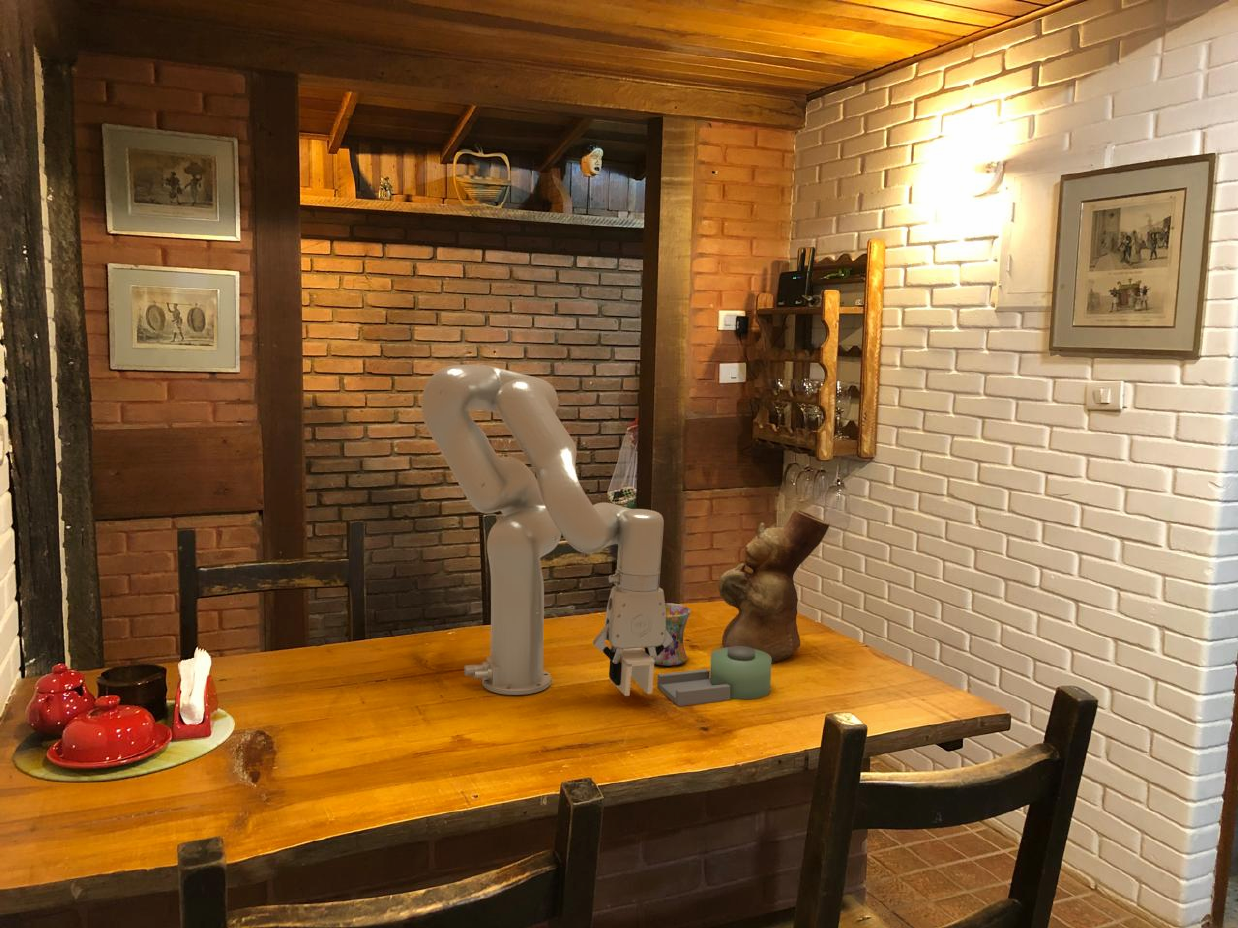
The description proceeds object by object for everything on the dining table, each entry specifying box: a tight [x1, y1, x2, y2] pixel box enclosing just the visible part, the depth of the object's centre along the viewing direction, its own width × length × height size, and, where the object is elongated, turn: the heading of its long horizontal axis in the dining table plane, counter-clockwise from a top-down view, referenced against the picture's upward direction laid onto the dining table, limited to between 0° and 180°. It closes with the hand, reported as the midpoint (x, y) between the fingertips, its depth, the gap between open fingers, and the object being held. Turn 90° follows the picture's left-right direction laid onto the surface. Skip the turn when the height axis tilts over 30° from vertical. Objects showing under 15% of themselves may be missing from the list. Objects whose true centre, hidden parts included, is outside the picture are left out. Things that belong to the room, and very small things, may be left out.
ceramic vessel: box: [718, 509, 830, 664], centre depth 187 cm, size 16×22×30 cm
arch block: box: [608, 648, 655, 697], centre depth 161 cm, size 8×5×6 cm, turn 21°
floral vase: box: [654, 602, 692, 667], centre depth 183 cm, size 12×9×11 cm
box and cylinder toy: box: [656, 646, 772, 707], centre depth 166 cm, size 20×11×7 cm, turn 111°
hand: (630, 680), depth 161 cm, fingers closed on arch block, 5 cm apart
